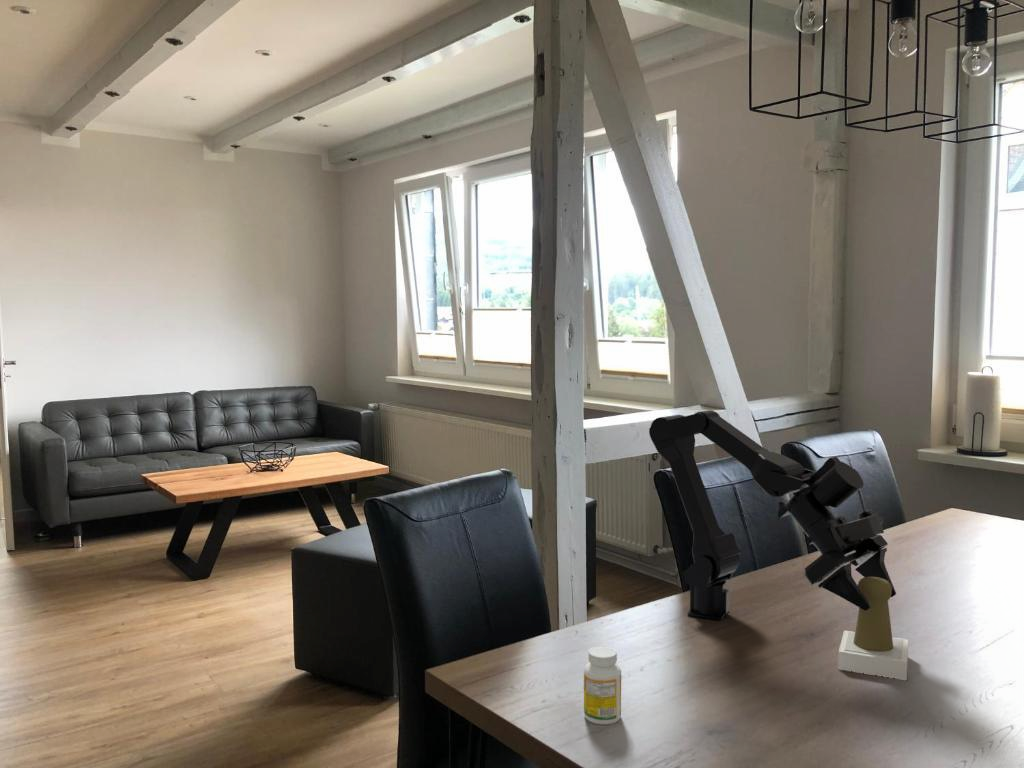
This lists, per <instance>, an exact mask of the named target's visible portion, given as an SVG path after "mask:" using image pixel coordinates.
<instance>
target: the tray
mask: <svg viewBox="0 0 1024 768" xmlns="http://www.w3.org/2000/svg"><path fill="white" fill-rule="evenodd" d="M854 636H855V631H851V630H843V634H842V637H841V642H840V645H839V647H838V648H839V649H838V662H837V663H838V666H837V667H838V668H837V669H839V671H844V670H845V672H851V671H852V673H856V674H857V673H858V674H863V673H864V675H871V676H875V675H877V677H881V676H883V677H884V678H887V677H889V678H888V679H893V678H895V679H894V680H899V681H900V680H901V681H906V680H907V677H908V661H909V659H908V658H909V639H907V638H902V637H901V638H900V637H899V638H898V637H894V636H892V640H893V649H892V650H889V651H884V652H877V651H869V650H865V649H862V648H860V647H858V646H856V645H855V644H854V643H853V642H854Z"/></svg>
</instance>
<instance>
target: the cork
mask: <svg viewBox="0 0 1024 768" xmlns="http://www.w3.org/2000/svg"><path fill="white" fill-rule="evenodd" d="M857 585H858V587H859V589H860V590H861V592H862V593H863V595H864V596H865V598H866V599H867V601H868V603H869V605H870V608H869V609H868V610H866V611H865V610H863V609H861V608H859V607H858V614H857V620H856V624H855V629H854V630H855V631H854V632H855V636H854V642H853V643H854V644H855V645H856V646H858V647H860V648H862V649H865V650H869V651H877V652H884V651H889V650H892V649H893V640H892V637H893V633H892V625H891V623H892V622H891V616H890V608H889V600H890V599H891V598H892V597H891V594H892V587H891V585H890V583H889V582H888V581H887V580H885V579H882V578H878V577H864V576H863V577H862V578H860V580H859V581H858V583H857Z"/></svg>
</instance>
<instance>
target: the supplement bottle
mask: <svg viewBox="0 0 1024 768" xmlns="http://www.w3.org/2000/svg"><path fill="white" fill-rule="evenodd" d="M617 653H618V652H617V650H615V649H614V648H611V647H607V646H595V647H594V646H593V647H591V648H590V649H589V650H588V657H587V659H588V663H587V664H586V665H585V666H584V668H583V669H584V670H583V713H584V717H585V719H586V720H587V721H589V722H591V723H592V724H595V725H601V726H603V725H604V726H605V725H611V724H615V723H617V722H618V721H619V720H620V719H621V716H622V670H621V667H620V666H619V665H618V664H617V660H618V657H617V656H618V655H617Z"/></svg>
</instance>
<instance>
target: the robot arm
mask: <svg viewBox="0 0 1024 768" xmlns="http://www.w3.org/2000/svg"><path fill="white" fill-rule="evenodd" d="M648 433H649V437H650V440H651V442H652V444H653V446H654V448H655V450H656V451H657V453H658V454H659V455H660V456H661V457H662V458H663V459H664V460H665V461H666V462H667V463H668V465H669V466H670V469H671V473H672V475H673V478H674V482H675V484H676V486H677V490H678V493H679V495H680V498H681V501H682V504H683V507H684V509H685V513H686V517H687V518H688V521H689V524H690V526H691V530H692V533H693V539H692V548H691V553H692V558H693V563H692V564H691V565H690V566H689V567H687V568H686V569H685V570H684V571H683V572H682V576H683V580H684V583H685V584H686V585H688V586H689V598H690V599H689V610H688V611H687V616H691V617H697V618H704V619H711V620H712V619H713V620H718V621H721V620H723V618H724V617H725V615H727V614H728V612H729V610H730V589H728V588H727V581H729V580H731V579H732V577H733V573H734V572H736V570H737V569H738V567H739V565H740V563H741V558H740V554H742V553H741V552H742V551H741V550H740V549H739V547H738V545H737V542H736V538H735V537H736V536H735V535H734V533H733V532H729V533H726V532H725V531H723V529H722V528H721V527H720V526H719V524H718V521H717V519H716V515H715V511H714V510H713V507H712V504H711V502H710V499H709V495H708V493H707V490H706V488H705V484H704V482H703V479H702V476H701V474H700V471H699V468H698V465H697V463H696V460H695V456H694V455H695V454H694V453H695V446H696V437H695V435H699V434H702V436H704V437H705V438H707V439H708V440H709V441H710V442H711V443H713V444H714V445H716V446H717V447H719V448H720V449H721V450H722V451H724V452H725V453H726V454H729V455H730V457H732V458H734V459H735V460H736V461H737V462H739V463H740V464H741V465H743V466H744V467H745V468H746V469H747V470H748V471H749V473H750V474H751V476H752V479H753V480H754V482H755V483H756V484H757V485H758V486H759V487H760V488H761V489H762V490H763V491H764V492H765V493H766V494H767V495H769V496H771V497H774V498H778V497H779V498H780V497H783V496H787V495H791V494H793V493H794V495H793V496H792V497H790V499H784V500H781V501H778V510H777V515H776V516H777V517H778V518H779V519H780V518H783V517H787V516H789V515H790V516H791V517H792V518H793V519H794V520H795V522H796V524H797V525H798V526H799V527H800V528H801V530H802V531H803V532H804V533H805V535H806V536H807V537H806V538H805V539H804V541H805V543H806V544H807V545H808V546H809V545H812V544H813V546H814V547H815V548H816V549H817V551H818V552H819V553H820V554H821V555H820V556H819V557H817V558H816V559H815V560H813V561H812V562H811V563H810V564H808V565H807V566H805V568H804V577H805V578H806V580H807V581H808V583H809V584H810V585H811V586H815V585H816V584H818V585H817V587H818V588H819V589H821V588H822V589H825V590H826V591H829V592H831V593H833V594H834V595H836V596H838V597H840V598H842V599H843V600H845V601H848V602H849V603H851V604H853V605H854V606H855V607H857V608H858V609H859V608H861V609H863V610H865V611H866V610H868V609H869V608H870V605H869V603H868V601H867V599H866V598H865V596H864V595H863V593H862V592H861V590H860V589H859V587H858V583H856V581H855V579H854V577H853V576H852V566H854V567H856V568H855V569H854V570H855V571H856V572H857V573H858V574H860V575H861V576H862V577H863V578H864V577H878V578H882V579H885V580H887V581H888V582H889V583H890V585H891V587H892V594H891V597H890V598H893V597H894V596H896V595H897V592H896V589H895V586H894V585H893V582H892V580H891V578H890V574H889V572H888V569H887V567H886V564H885V556H886V553H887V551H888V548H887V547H888V546H889V543H888V541H886V539H885V538H884V537H883V536H882V534H884V533H885V531H884V528H883V524H884V523H885V519H884V518H883V517H881V515H880V514H879V513H877V512H876V511H875V510H874V509H873V508H871V509H868V510H865V511H861V512H860V513H859V518H858V519H856V520H852V521H848V520H847V519H846V518H845V517H843V516H838V517H837V516H835V514H834V513H833V512H832V511H831V509H830V508H829V507H831V508H837V509H838V508H839V507H840V506H842V505H843V504H844V503H845V502H847V501H848V500H849V499H850V498H851V497H853V496H854V495H855V494H856V493H857V492H859V491H860V490H861V489H862V488H863V487H864V480H863V478H862V476H861V474H860V473H859V472H858V471H857V470H856V469H855V468H853V467H851V466H850V465H849V464H848V463H845V462H844V461H841V460H840V459H839V458H838V456H832V457H829V458H828V459H827V460H826V461H825V462H824V463H823V464H822V466H820V468H818V469H817V470H816V471H814V470H811V469H807V468H804V466H803V465H802V464H801V463H799V462H798V461H796V460H794V459H792V458H790V457H788V456H786V455H784V454H781V453H777V452H774V451H770V450H768V449H766V448H764V447H763V446H761V445H760V444H759V443H758V442H756V441H755V440H754V439H752V438H750V437H749V436H748V435H747V434H745V433H743V432H742V430H741V431H740V430H739V429H738V428H736V427H735V426H733V425H732V424H731V423H730V422H728V421H727V420H725V419H724V418H722V416H720V414H719V413H718V412H717V411H714V410H711V409H709V410H708V409H706V410H702V411H698V412H695V413H693V414H690V415H685V416H684V415H683V414H675V415H674V414H673V415H667V416H661V417H657V418H655V419H653V421H652V422H651V425H650V428H648ZM808 487H809V488H808ZM805 488H808V489H807V490H806V491H805V492H799V491H801V490H802V489H805Z"/></svg>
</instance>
